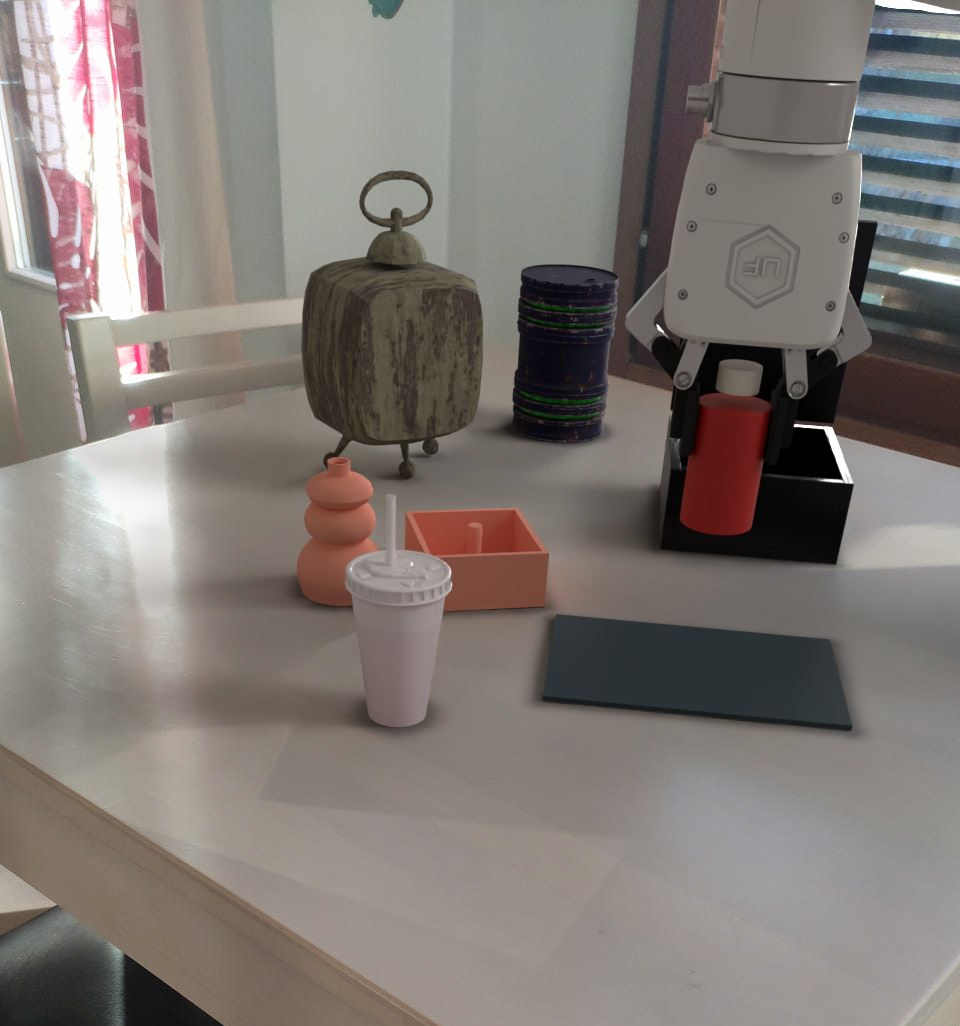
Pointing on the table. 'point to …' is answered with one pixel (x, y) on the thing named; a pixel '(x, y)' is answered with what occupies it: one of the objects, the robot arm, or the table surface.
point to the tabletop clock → (392, 341)
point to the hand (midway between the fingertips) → (727, 451)
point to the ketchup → (727, 452)
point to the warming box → (772, 503)
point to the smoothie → (397, 625)
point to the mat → (695, 672)
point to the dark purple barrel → (563, 351)
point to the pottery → (421, 546)
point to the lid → (818, 398)
